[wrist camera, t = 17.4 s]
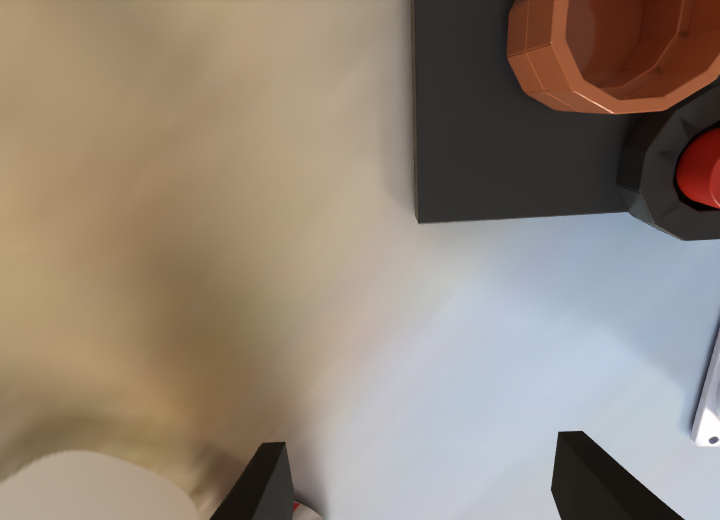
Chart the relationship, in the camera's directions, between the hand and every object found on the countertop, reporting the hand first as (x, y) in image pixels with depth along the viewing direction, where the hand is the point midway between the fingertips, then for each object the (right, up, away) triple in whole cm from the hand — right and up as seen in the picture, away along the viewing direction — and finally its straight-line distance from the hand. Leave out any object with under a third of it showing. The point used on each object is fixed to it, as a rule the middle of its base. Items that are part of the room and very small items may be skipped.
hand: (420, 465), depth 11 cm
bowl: (+6, +14, +4) cm, 16 cm away
